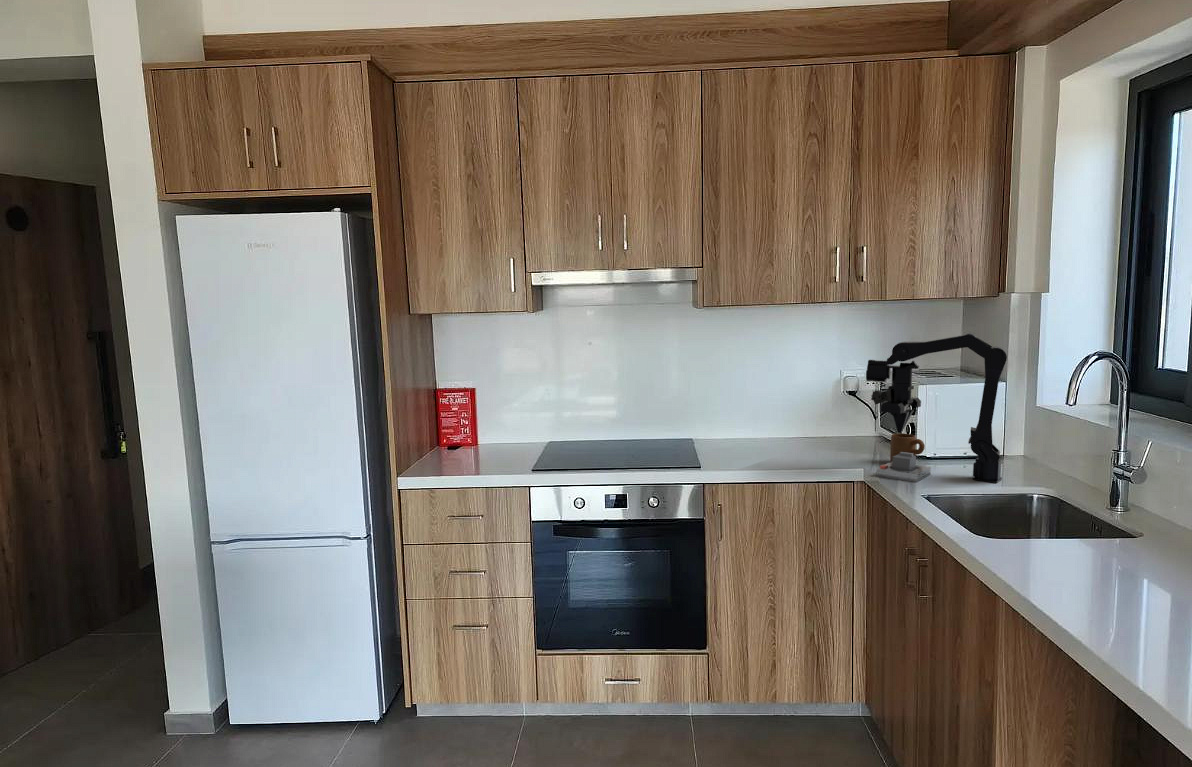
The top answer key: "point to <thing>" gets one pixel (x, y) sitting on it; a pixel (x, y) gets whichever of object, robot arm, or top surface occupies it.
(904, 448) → the mug
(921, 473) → the socket plate
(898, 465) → the plug
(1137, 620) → the top surface
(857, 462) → the top surface
